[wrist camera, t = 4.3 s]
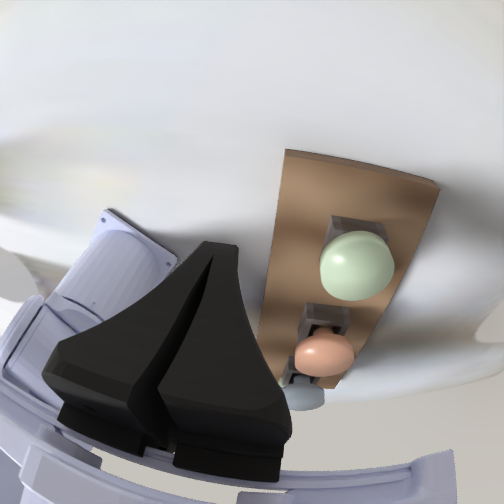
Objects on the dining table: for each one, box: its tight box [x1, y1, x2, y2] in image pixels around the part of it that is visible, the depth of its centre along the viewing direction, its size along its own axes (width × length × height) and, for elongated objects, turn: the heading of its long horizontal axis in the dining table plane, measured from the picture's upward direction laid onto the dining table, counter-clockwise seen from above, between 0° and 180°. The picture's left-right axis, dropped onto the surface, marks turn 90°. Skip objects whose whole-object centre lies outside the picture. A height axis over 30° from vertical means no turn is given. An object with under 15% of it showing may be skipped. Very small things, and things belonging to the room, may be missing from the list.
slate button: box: [281, 375, 324, 411], centre depth 27 cm, size 5×5×3 cm
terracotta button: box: [295, 327, 354, 377], centre depth 22 cm, size 5×5×3 cm
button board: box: [257, 149, 440, 389], centre depth 25 cm, size 28×11×3 cm, turn 175°
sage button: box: [320, 231, 394, 301], centre depth 18 cm, size 5×5×3 cm
